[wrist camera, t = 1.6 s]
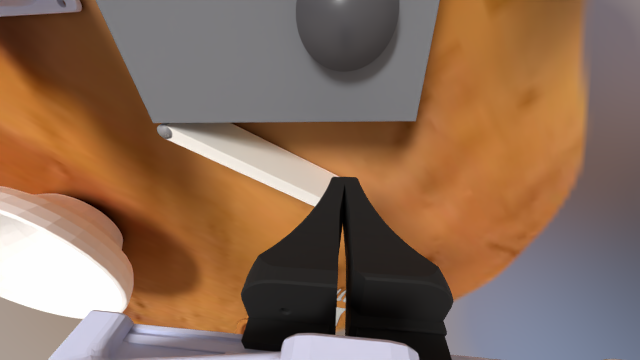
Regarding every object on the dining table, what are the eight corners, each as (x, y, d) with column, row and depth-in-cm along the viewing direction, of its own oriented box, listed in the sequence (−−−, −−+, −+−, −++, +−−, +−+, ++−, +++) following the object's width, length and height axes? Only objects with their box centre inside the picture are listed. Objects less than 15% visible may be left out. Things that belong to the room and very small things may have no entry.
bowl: (128, 157, 22) (55, 205, 17) (186, 276, 33) (154, 328, 28) (-60, 140, 23) (-190, 180, 17) (58, 261, 34) (2, 309, 29)
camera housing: (191, 102, 18) (144, 128, 14) (126, -85, 13) (12, -138, 8) (400, 99, 17) (419, 127, 12) (432, -116, 11) (488, -202, 7)
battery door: (187, 124, 19) (155, 146, 16) (191, 103, 18) (157, 122, 15) (347, 200, 22) (348, 232, 19) (359, 186, 21) (361, 216, 18)
